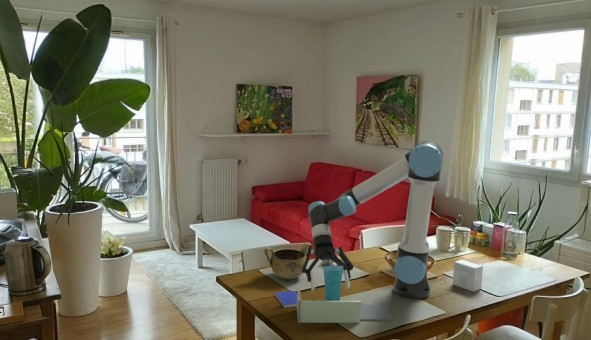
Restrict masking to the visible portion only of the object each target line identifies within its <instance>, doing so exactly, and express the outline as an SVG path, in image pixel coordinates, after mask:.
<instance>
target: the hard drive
mask: <svg viewBox="0 0 591 340" xmlns="http://www.w3.org/2000/svg"><path fill="white" fill-rule="evenodd" d="M275 297H276V298H277V300H278V301H279V302H280V303H281V305H282V307H284V308H285V309H286V308H292V307H297V292H295V290H288V291H279V292H275ZM301 301H303V300H302V299H301Z"/></svg>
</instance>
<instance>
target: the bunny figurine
mask: <svg viewBox="0 0 591 340" xmlns="http://www.w3.org/2000/svg"><path fill="white" fill-rule="evenodd" d="M336 256H337V257H338V258H339V259H340V260H341V261H342V259H341V258H340V256H339V255H336ZM332 257H333V256H332ZM321 264H323V265H326V266H338V265H337V264H336V263H335V262H334V261H332V260H331V259H330V260H321Z"/></svg>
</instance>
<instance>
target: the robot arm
mask: <svg viewBox="0 0 591 340" xmlns="http://www.w3.org/2000/svg"><path fill="white" fill-rule="evenodd" d="M443 159H444V153H443V151H442V149H441V147H440V146H439V145H438V144H437V143H435V142H433V141H429V140H428V141H422V142H420V143H418V144H417V145H416V146H415V147H414V148H413V149H411V150H410V151H408V152H407V153H406V154H405V153H404V155H403V158H401V159H400V160H398V161H396V162H395V163H393V164H391V165H389V166H388V167H387V168H384V169H383V170H381V171H380V172H378V173H376V174H375V175H373V176H371V177H370V178H368V179H366V180H364V181H362V182H361V183H359V184H357V185H356V186H354V187H352V188H351V189H349V190H347V191H345V192H343V193H342V194H341V195H340V196H339V197H338V198H336V200H335V199H334V200H333V201H331V202H328V203H325V202H323V201H321V200H318V201H314V202H312V203H310V204H309V205H308V218H309V223H310V228H311V234H312V241H313V249H310V248H309V247H307V249H306V252H307V258H306V260H305V263H304V266H303V268H302V271H301V272H302V273H303V274H305V275H306V279H307V283H310V289H311V292H314V291H315V289H316V286H315V281H314V280H315V279H314V274H313V271H312V270H313V269H314V268H315V266H316V264H317V263H318V262H319V260H320V261H322V260H330V259H331V260H332V261H334V262H335V263H336V264H337V265H338V266H343V277H344V282H345V286H346V287H345V288H346V289H347V290H348V289H350V288H351V283H350V279H351V278H352V276H351V271H352V270H353V268H354V265H353V263H352V262H351V260H349V258H348V257H347V255H346V254H345V252H344V251H343V247H342V246H339V247H338V248H335V247H334V243H333V239H332V238H333V237H332V232H331V228H330V227H331V226H330V223H332V222H334V221H337V220H340V219H343V218H345V217H350V215H352V214H355V213H356V212H357V207H358V206H360V205H362V204H363V203H365V202H367V201H369V200H371V199H372V198H374V197H375V196H378V195H380V194H382V193H383V192H385V191H386V190H388V189H390V188H392V187H393V186H395V185H397V184H399V183H400V182H402V181H404V180H405V179H407V178H408V179H409V181H410V188H409V195H408V202H407V208H406V217H405V224H404V230H403V231H404V232H403V238H401V239H400V240H399V243H398V244H397V252H396V259H395V263H394V265H393V267H394V274H395V275H396V277H395V281H394V283H393V289H392V290H393V292H394V293H395V294H396V295H397V296H400V297H402V298H405V299H409V300H410V299H412V300H422V299H425V298H428V297H429V296H430V295H431V286H430V282H429V279H428V262H429V261H428V260H429V250H430V249H429V247H430V245H429V242H428V241H427V237H428V236H427V235H428V231H429V224H430V218H431V217H430V216H431V209H432V203H433V197H434V196H433V195H434V189H435V185H436V184H438V182H440V178H441V171H442V166H443V161H444V160H443ZM335 253H336V254H337V255H336V254H335ZM313 254H314V255H315V258H314V259H313V261H312V263H311V264H310V265H309V266H308V263H309V261H310V258H311V256H313ZM332 256H333V257H332ZM337 256H338V257H340V259H341V260H340V259H339V258H338V257H337ZM307 266H308V267H307Z"/></svg>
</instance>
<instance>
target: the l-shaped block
mask: <svg viewBox="0 0 591 340" xmlns="http://www.w3.org/2000/svg"><path fill="white" fill-rule="evenodd" d="M296 294H297V306H296V314H297V315H296V316H297V319H296V320H297V324H299V323H300V324H302V323H303V324H304V323H305V324H309V323H310V324H314V323H315V324H317V323H318V324H323V323H324V324H326V323H327V324H328V323H332V324H333V323H335V324H336V323H338V324H339V323H340V324H346V323H348V324H352V323H353V324H357V323H358V324H359V323H361V321H360V313H361V305H362V303H361V302H362V301H361V300H340V301H325V300H302V294H301V289H298V288H297V289H296ZM301 300H302V301H301Z"/></svg>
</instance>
